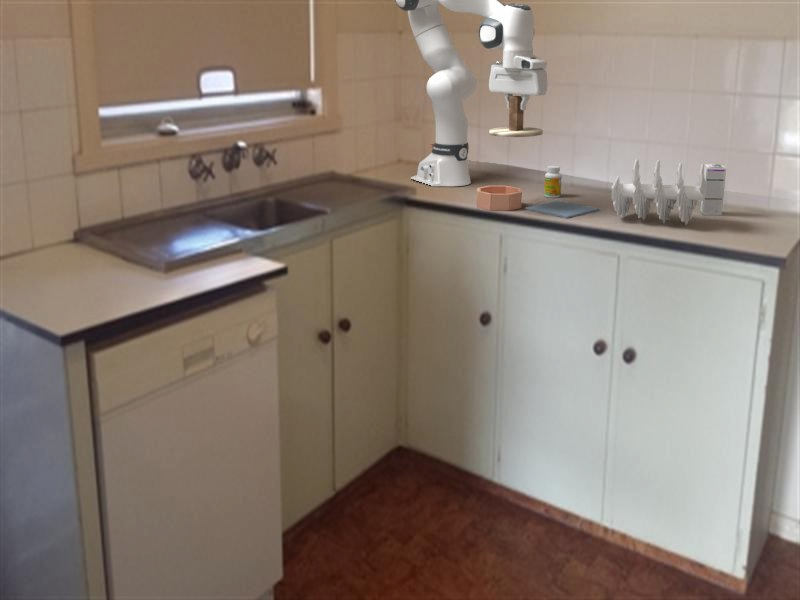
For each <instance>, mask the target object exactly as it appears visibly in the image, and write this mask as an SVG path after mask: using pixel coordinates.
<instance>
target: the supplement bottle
mask: <svg viewBox="0 0 800 600" xmlns="http://www.w3.org/2000/svg"><path fill="white" fill-rule="evenodd" d="M560 170H561V166H560V165H548V166H547V172H546V173H545V174H544V188H543V196H544V197H546V198H553V199H554V198H559V197H561V196H562V195H561V191H562V177H563V176H562V174H561V173H560Z"/></svg>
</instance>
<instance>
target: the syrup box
mask: <svg viewBox="0 0 800 600" xmlns="http://www.w3.org/2000/svg"><path fill="white" fill-rule="evenodd" d="M726 175H727V167H726V166H725V165H724V164H719V163H708V164H706V163H705V164H704V179H705V197H704V201H700V206H699V211H700V213H701V215H702V216H710V217H711V216H712V217H713V216H714V217H717V216H718V217H721V216H722V214H723V205H724V198H725V197H724V195H725V186H726Z"/></svg>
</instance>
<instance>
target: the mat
mask: <svg viewBox="0 0 800 600" xmlns="http://www.w3.org/2000/svg"><path fill="white" fill-rule="evenodd" d="M600 209H601V208H600V207H595V206H591V205H590V206H589V205H583V204H580V203H579V204H578V203H574V202H570V201H564V200H558V199H557V200H552V201H548V202H544V203H540V204H536V205H529V206H526V207H524V210H526V211H529V212H535V213H540V214H544V215H550V216H553V215H555V217H558V216H559V218H563V217H564V218H563V219H571V218H575V217H579V216H581V215H586V214H590V213H593V212H598V211H600ZM570 217H571V218H570Z"/></svg>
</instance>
